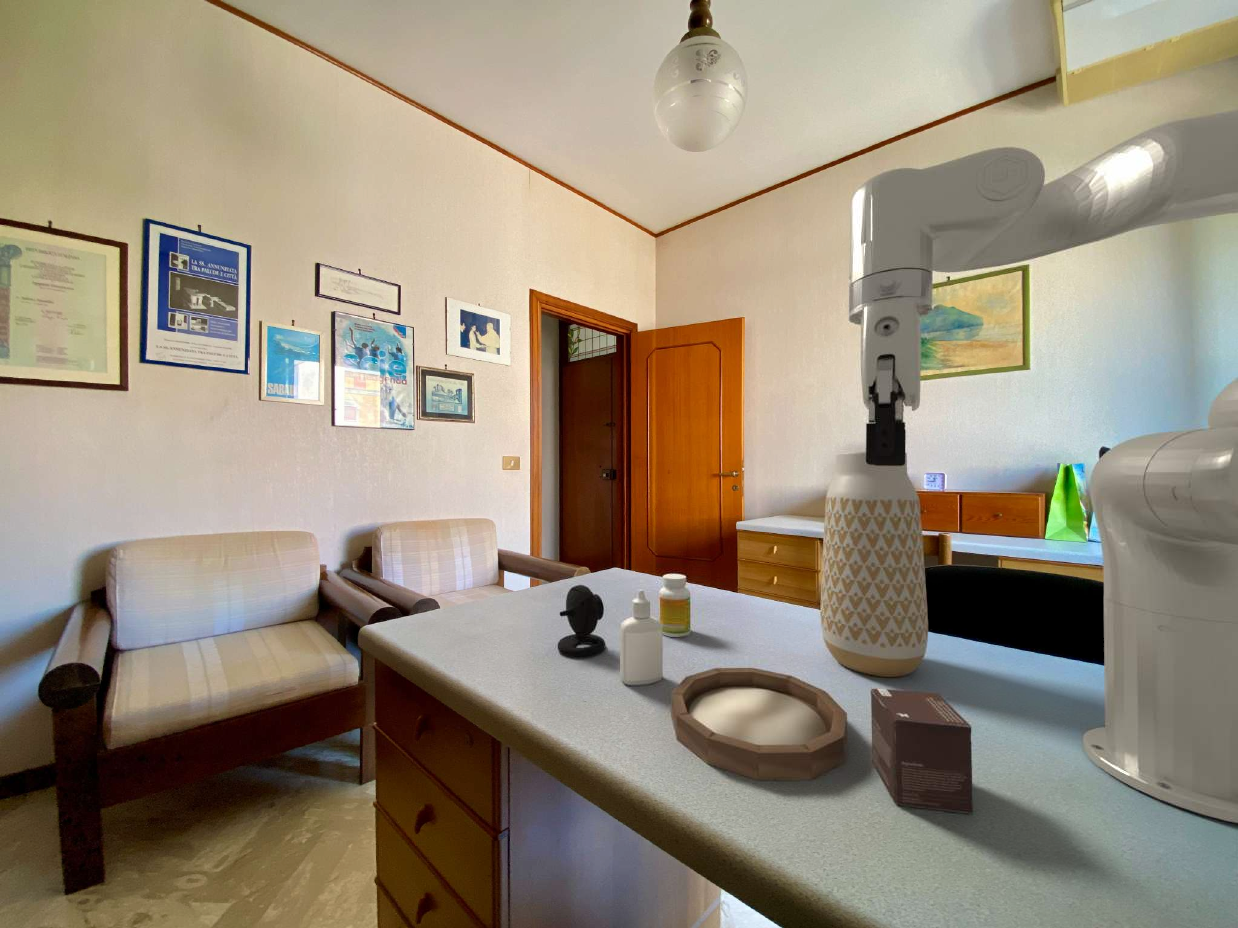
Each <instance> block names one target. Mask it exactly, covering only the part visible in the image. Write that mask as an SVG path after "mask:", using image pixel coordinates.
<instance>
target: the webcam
mask: <svg viewBox="0 0 1238 928" xmlns="http://www.w3.org/2000/svg"><path fill="white" fill-rule="evenodd" d="M568 590H569V591H568V592H567V594H566V600H565V610H562V611H560V612H559V615H560V617H567V620H568V624H569V626H570V628H571V629H572V630H573V632H574V634H570V635H567V636H564V637H562V638H561V639H560V640H559V641H558V643H557V650H558V652H559V653H560V654H562V655H564V656H566V657H569V658H578V659H581V658H582V659H584V658H591V657H594V656H597V655H599V654H601V653H603V652H604V650H605V647H606V642H605V640H604V638H602V637H601V636H599V635H597V634H592V633H593V632H594V631H595V630H596V628H597V625H598V621H600V620H602V619H603V616H604V611H605V609H604V608H605V606H604V603H603V599H602V598H601V596H600V595H599V594H597V593H595V594H594V593H593V591H592V590H591V589H590V588H589V587H588V586H586V585H583V584H578V585H574V586H572V587H571V588H570V589H568ZM587 643H588V644H592V645H589V646H584V647H578V646H580V645H582V644H587Z"/></svg>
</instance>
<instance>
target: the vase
mask: <svg viewBox="0 0 1238 928" xmlns="http://www.w3.org/2000/svg"><path fill="white" fill-rule="evenodd" d="M835 455H836V456H835V458H836V459H835V461H836V462H835V463H836V464H835V467H836V468H835V474H834V475H835V476H834V478H833V479H832V481H831V484H830V486H829V487H828V490H827V493H826V496H825V505H824V506H825V509H824V521H823V522H824V523H823V541H822V542H823V543H822V544H823V545H822V546H823V547H822V563H821V565H822V566H821V581H820V582H821V583H820V587H821V588H820V603H819V605H820V607H819V608H820V613H819V614H820V616H819V617H820V626H821V634H822V638H823V641H824V644H825V646H826V648H827V650H828V652H829V653H830V654H831V656H832V657H833V658H834V660H836V662H838V663H839V664H840V665H842V666H844V667H845V668H848V669H850V670H852V671H855V672H857V673H861V674H864V675H869V676H873V677H874V676H875V677H883V678H897V677H903V676H906V675H910V674H911V673H912V672H914V671H915V670H916V669H917V668H918V667H919V665H920V664H921V663H922V661H923V660H924V657H925V656H926V651H927V647H928V640H929V639H928V638H929V619H928V601H927V588H926V587H927V585H926V573H925V572H926V571H925V569H926V568H925V558H924V557H925V556H924V540H923V527H922V515H921V505H920V503H921V502H920V498H919V495H918V492H917V490H916V488H915V486H914V484H913V483H912V481H911V478H910V477H909V474H908V461H907V460H908V459H907V458H908V456H907V452H906V451H905V464H904V465H903V466H875V465H869V464H867V463H866V451H846V452H845V451H842V452H837V453H836V454H835Z"/></svg>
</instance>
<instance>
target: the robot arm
mask: <svg viewBox="0 0 1238 928" xmlns="http://www.w3.org/2000/svg"><path fill="white" fill-rule="evenodd" d="M1045 178H1046V172H1045V168H1044V164H1043V162H1042V161H1041V158H1039V157H1038V156H1037V155H1036V154H1035V153H1034V152H1032V151H1029V150H1027V149H1024V148H1021V147H1014V146H1010V147H1008V146H1005V147H995V148H990V149H989V148H988V149H986V150H982V151H978V152H973V153H971V154H968V155H965V156H964V155H963V156H962V157H957V158H956V159H952V160H949V161H946V162H945V161H944V162H942V163H938V164H936V165H931V166H929V167H924V168H914V167H912V168H911V167H903V168H895V169H891V170H887V171H883V172H882V173H879V174H877V175H874V176H873V177H871V178H869V179H868V180H866V181H865V182H863V183H862V185H861V186H860V187H858V189H857V190H856V191H855V193H854V194H853V197H852V199H851V202H850V211H849V212H850V213H849V215H850V217H849V222H850V223H849V276H848V277H849V278H848V279H849V281H848V283H849V285H848V287H849V289H848V320H849V322H850V323H852V324H854V325H859V326H860V377H861V378H860V379H861V392H862V401H863V404H864V406H865V407H866V409H867V410H868V423H865V425H866V426H865V427H866V429H865V452H866V463H867V464H869V465H875V466H903V465H904V464H905V452H906V441H907V439H906V435H907V434H906V433H907V431H906V422H904V411H905V410H904V408H905V407H911V411H913V412H915V411H916V410H917V409H920V408H919V407H920V405H921V404H920V403H921V373H922V372H921V370H922V368H921V367H922V335H921V334H922V333H921V332H922V330H921V329H922V328H921V318H922V317H924V316H926V315H928V314H929V313H931V311H932V310H933V275H934V273H933V272H937V273H959V272H960V273H962V272H967V271H975V270H976V271H977V270H981V269H982V270H983V269H991V268H995V267H997V268H998V267H1003V266H1008V265H1013V264H1017V263H1022V262H1026V261H1030V260H1034V259H1037V258H1041V257H1045V256H1048V255H1052V254H1055V253H1059V252H1063V251H1066V250H1070V249H1074V248H1077V247H1081V246H1084V245H1089V244H1092V243H1096V242H1100V241H1102V240H1106V239H1110V238H1113V237H1117V236H1118V235H1122V234H1125V233H1128V232H1131V231H1134V230H1138V229H1143V228H1146V227H1153V226H1159V225H1165V224H1172V223H1179V222H1184V221H1190V220H1194V219H1195V220H1196V219H1202V218H1208V217H1215V216H1222V215H1228V214H1236V213H1237V214H1238V108H1237V109H1233V110H1232V109H1231V110H1227V111H1223V112H1222V111H1221V112H1218V113H1211V114H1207V115H1202V116H1197V117H1190V118H1185V119H1180V120H1174V121H1173V120H1172V121H1169V122H1166V123H1162V124H1160V125H1157V126H1154V127H1152V128H1149V129H1147V130H1146V131H1143V132H1140V133H1139V134H1137V135H1135V136H1133V137H1131V138H1129V139H1127V140H1124V141H1123V142H1121V143H1118V144H1117V145H1115V146H1113V147H1111V148H1110V149H1108V150H1106V151H1105V152H1102V153H1101V154H1099V155H1097V156H1096V157H1094V158H1093V159H1090V161H1088V162H1086V163H1084V164H1082V165H1080V166H1079V167H1077V168H1075V169H1073V170H1072V171H1070V172H1068V173H1066V174H1064V175H1063V176H1060V177H1058V178H1056V179H1054V180H1051V181H1050V182H1048V183H1045V181H1046V180H1045ZM1207 422H1208V427H1209V428H1201V429H1187V430H1176V431H1175V430H1173V431H1165V432H1163V431H1162V432H1155V433H1150V434H1145V435H1141V436H1137V437H1134V438H1130V439H1128V440H1126V441H1122V442H1120V443H1119V444H1117V445H1115V446H1113V447H1112V448H1110V449H1109V450H1107V451H1105V453H1104V454H1103V455H1102V456H1101V457H1100V458H1099V459H1098V460H1097V461H1096V464H1095V465H1094V467H1093V468H1092V472H1091V474H1090V478H1089V496H1090V503H1091V507H1092V510H1093V514H1094V515H1093V516H1094V519H1095V522H1096V525H1097V529H1098V534H1099V539H1100V545H1101V553H1102V566H1103V638H1104V639H1103V641H1104V643H1103V646H1104V647H1103V652H1104V659H1103V661H1104V663H1103V665H1104V725H1105V726H1104V727H1103V726H1102V727H1095V728H1093V729H1089V730H1087V731H1086V732H1085V733H1084V734H1083V738H1082V741H1083V742H1082V744H1083V745H1082V746H1083V750H1084V752H1085V754H1086V755H1087V757H1088V758H1089V759H1090V760H1091V761H1092V762H1093V763H1094V764H1095V765H1096V766H1098V767H1099V768H1101V769H1102V770H1103V771H1105V772H1106V773H1107V774H1109V775H1111V776H1112V777H1114V779H1115V778H1116V779H1117V780H1119V781H1121V782H1122V783H1125V784H1126V785H1128V786H1130V787H1132V788H1133V789H1136V790H1138V791H1141V792H1142V793H1144V794H1146V795H1148V796H1151V797H1153V798H1156V799H1158V800H1161V801H1162V802H1166V803H1168V804H1170V805H1173V806H1176V807H1178V808H1181V809H1184V810H1187V811H1191V812H1194V813H1196V814H1200V815H1202V816H1205V817H1206V816H1207V817H1209V818H1213V819H1217V820H1219V821H1220V820H1222V821H1225V822H1231V823H1234V824H1238V376H1237V377H1236V378H1235V379H1234V380H1232V381H1231V382H1230V383H1229V384H1227V385H1226V386H1224V388H1223V389H1221V391H1220V392H1219V393H1218V394H1217V396H1215V398H1214V400H1213V401H1212V403H1211V404H1210V407H1209V409H1208V415H1207Z"/></svg>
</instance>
